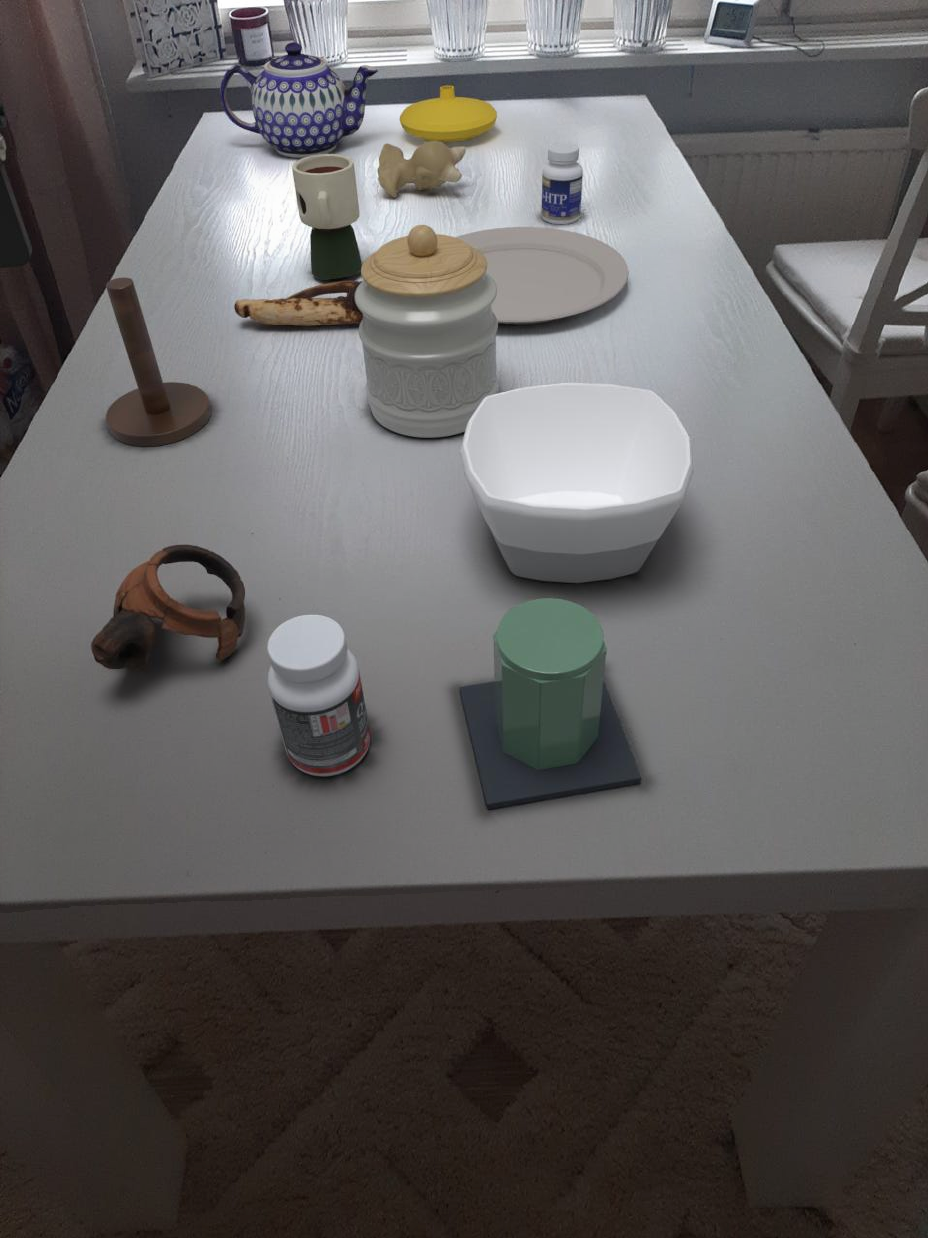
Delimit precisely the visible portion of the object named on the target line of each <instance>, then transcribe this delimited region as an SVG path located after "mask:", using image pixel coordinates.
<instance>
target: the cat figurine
mask: <svg viewBox="0 0 928 1238" xmlns="http://www.w3.org/2000/svg"><path fill="white" fill-rule="evenodd" d="M466 151H467V149H466V147H465V146H464V145H462V146H453V147H451V148H450V147H448V146H447V145H446V143H442V142H439V141H426V142H424V143H422V144H421V145H419V146H418V147H417V148H415V150H414V152H413V153H412V155H411V157H410V158H409V159H406V158H405V156H404V152H403V150H402V149H401V148H400V147H398V146H395V145H393V144H391V143H384V144H383V146H382V149H381V151H380V154H379V156H378V167H377V169H376V170H377V175H378V177H377V181H378V184H379V186H380V187H381V188H383V190H385V191H386V192H387V193H388V194H389V195H391V196H392V197H393V198H394V199H396V198H397V196H398V191H399V190H400V189H402V188H403V187H405V186H406V185H408V184H411V185H412V184H413V185H414V186H415V187H416V188H417V190H419V191H424V190H428V191H430V190H434V189H436V188H438V187H441V186H442V185H444V184H445V183H447V182H448V183H457V182H459V181H460V180H462V177H463V176H462V175H463V174H462V172H461V171H460V170H459V168H457V167H456V165H457V164H459V163H460V162H461V161H462V160H463V158H464V157H465V154H466Z"/></svg>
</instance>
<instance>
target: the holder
mask: <svg viewBox="0 0 928 1238" xmlns="http://www.w3.org/2000/svg"><path fill="white" fill-rule="evenodd" d="M105 288H106V292H107V294H108V298H109V301H110V304H111V307H112V310H113V313H114V317H115V320H116V323H117V325H118V329H119V332H120V335H121V338H122V341H123V346H124V348H125V351H126V354H127V358H128V360H129V364H130V367H131V370H132V373H133V377H134V379H135V383H136V386H137V388H135V389H133V390H130V391H128V392H127V393H124V394H123V395H120V397H118V398H117V399H116V400H114V401H113V403H111V405H110V406H109V407H108V409H107V411H106V414H105V421H106V424H107V427H108V430H109V433H110V434H111V436H112V437H113V438H114V439H116V440H117V441H118V442H121V443H122V444H125V445H128V446H134V447H143V448H144V447H160V446H164V445H170V444H173V443H176V442H180V441H182V440H184V439H187V438H188V437H189V438H190V437H191V436H192V435H194V434H196V433H197V432H199V431H200V430H201V429H203V428H204V427H205V425H206V424H207V423H208V422H209V421H210V419H211V418H210V417H211V415H212V408H211V407H212V406H211V403H210V399H209V397H208V395H207V393H206V392H205V391H204V390H203V389H201V388H200V387H198V386H196V385H193V384H190V383H185V382H175V381H170V382H169V381H167V382H164V381H163V378H162V374H161V371H160V368H159V365H158V360H157V357H156V354H155V350H154V348H153V344H152V341H151V338H150V337H151V336H150V334H149V333H150V332H149V329H148V326H147V322H146V320H145V317H144V313H143V309H142V306H141V303H140V300H139V295H138V293H137V290H136V286H135V282H134V280H133V279H132V278H130V277H116V278H114V279H111V280H109V281H107V283H106V284H105Z"/></svg>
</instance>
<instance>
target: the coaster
mask: <svg viewBox="0 0 928 1238" xmlns="http://www.w3.org/2000/svg"><path fill="white" fill-rule="evenodd" d="M459 695H460V699H461V704H462V708H463V712H464V717H465V721H466V726H467V729H468V734H469V738H470V743H471V748H472V751H473V755H474V759H475V764H476V765H475V766H476V769H477V773H478V778H479V781H480V785H481V790H482V793H483V799H484V802H485V803H484V804H485V807H486V810H492V809H497V808H504V807H508V806H515V805H520V804H526V803H527V804H528V803H532V802H533V803H534V802H537V801H538V802H539V801H543V800H549V799H555V798H561V797H566V796H572V795H579V794H585V793H590V792H596V791H601V790H602V791H603V790H608V789H614V788H620V787H624V786H625V787H627V786H630V785H636V784H641V781H642V776H641V774H640V770H639V768H638V765H637V763H636V760H635V758H634V755H633V752H632V750H631V747H630V745H629V742H628V740H627V738H626V735H625V732H624V729H623V726H622V724H621V722H620V719H619V716H618V714H617V711H616V708H615V706H614V704H613V701H612V699H611V696H610V693H609V690H608V688H607V686H606V683H605V679H604V680H603V690H602V700H601V710H600V721H599V731H598V737H597V739H596V740H595V741H594V743H593V744H592V745H591V747H590V748H589V749H588V751H587V752H586V753H585V755H584V756H583V757H582V759H581V760H580V761H579V762H578V763H577V764H572V765H566V766H560V767H554V768H549V769H543V770H536V769H534V768H532V767H531V766H529V765H527V764H525V763H523V762H521V761H519V760H517V759H515V758H513V757H511V756H509V755H508V754H506V753H504V752H503V749H502V745H501V741H500V737H499V733H498V730H497V726H496V720H495V681H490V682H482V683H477V684H470V685H465V686H459Z"/></svg>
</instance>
